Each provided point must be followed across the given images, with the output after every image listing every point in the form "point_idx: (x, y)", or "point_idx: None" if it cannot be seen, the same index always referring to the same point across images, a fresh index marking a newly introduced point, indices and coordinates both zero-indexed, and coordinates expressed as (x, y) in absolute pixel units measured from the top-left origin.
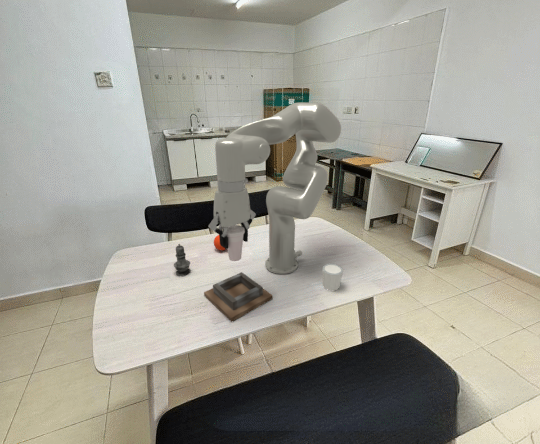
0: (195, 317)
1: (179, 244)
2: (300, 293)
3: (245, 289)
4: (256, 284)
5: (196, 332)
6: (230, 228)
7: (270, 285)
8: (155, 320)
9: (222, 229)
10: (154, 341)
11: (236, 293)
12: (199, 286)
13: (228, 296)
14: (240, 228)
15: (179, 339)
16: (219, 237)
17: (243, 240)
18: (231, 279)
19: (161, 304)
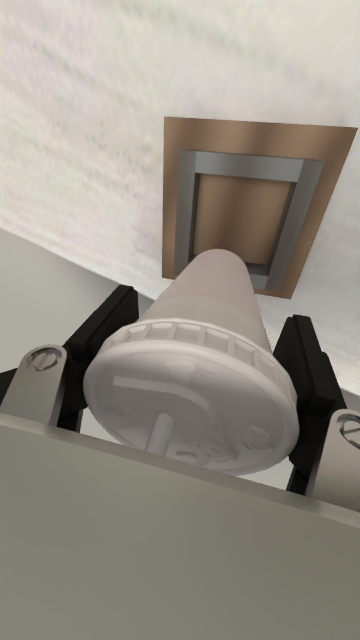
0: (109, 195)
1: None
2: (352, 331)
3: (268, 222)
4: (280, 269)
5: (96, 240)
6: (158, 409)
7: (350, 250)
8: (20, 117)
9: (60, 398)
10: (19, 194)
11: (234, 216)
12: (186, 23)
13: (180, 247)
14: (232, 459)
15: (63, 230)
16: (68, 339)
17: (275, 348)
18: (251, 175)
19: (37, 35)
